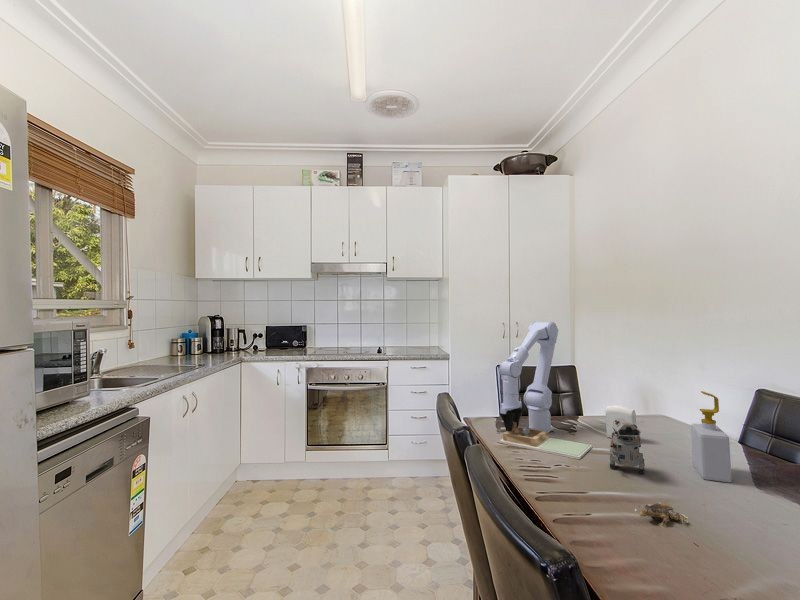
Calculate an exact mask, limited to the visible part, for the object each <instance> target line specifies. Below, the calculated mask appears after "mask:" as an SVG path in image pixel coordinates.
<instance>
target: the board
mask: <svg viewBox="0 0 800 600" xmlns="http://www.w3.org/2000/svg"><path fill="white" fill-rule="evenodd" d="M519 435H520V436H521V434H519ZM530 437H531V438H533V437H532V436H530ZM552 438H553V437H549V436H548V438H547V439H546V440H544V441H543V442H541V443H540V444H539V445H537V446H536V447H533V446H528V445H523V444H518V443H514V442H509V441H504V440H503V438H502V439H500V440H499V441H498V442H499V444H503V445H509V446H513V447H517V448H523V449H528V450H532V451H537V452H542V453H547V454H551V455H556V456H561V457H567V458H571V459H575V460H581V459H582V458H583V457H584V456H585V455H586V454H587V453H588V452H589V451H590V450H591V449H592V448H593V445H591V444H589V445H590V446H589V447H588V448H587V449H585V450H584V451H583V452H582V453H581V454H580V455H579V456H575V455H570V454H565V453H560V452H555V451H550V450H545V449H541V448H539V447H540V446H542V445H543V444H544V443H546V442H547V441H549V440H550V439H552Z"/></svg>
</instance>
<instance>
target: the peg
mask: <svg viewBox="0 0 800 600" xmlns="http://www.w3.org/2000/svg"><path fill="white" fill-rule="evenodd" d="M521 427H522V428H521V436H526V437H530V430H529V427H526V426H521Z"/></svg>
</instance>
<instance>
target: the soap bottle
mask: <svg viewBox="0 0 800 600" xmlns="http://www.w3.org/2000/svg"><path fill="white" fill-rule="evenodd" d="M700 393H701V394H703V395H704V396H705V395H706V396H709V397H713V400H714V401H713V402H714V403H713V404H714V407H713V409H707V408H699V411H700V412H701V413H702V414H701V415H702V416H703V415H704V418H701V419H700V422H701V423H691V425H690V430H691V432H690V433H691V454H692V464H693V466H694V467H695V469H696V471H697V472H698V473H699V475H700V477H701V478H702V479H703V480H707V481H708V480H709V481H716V482H723V483H732V468H731V467H732V466H731V465H732V464H731V463H732V462H731V447H730V446H731V445H730V444H731V443H730V437H729V436H728V434H727V433H726V432H725V431H723V430H722V429H721V428H720V427H719V426H718V425H716V424H717V421H716V420H715V419H713V416H715V414H718V413H719V411H720V404H719V398H718V397H717V396H716V395H714V394H712V393H708V392H705V391H702V390H701V391H700Z"/></svg>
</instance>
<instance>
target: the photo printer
mask: <svg viewBox="0 0 800 600" xmlns="http://www.w3.org/2000/svg"><path fill="white" fill-rule="evenodd" d="M615 419H626V420H627V421H628V422H630V423H631V424H632V425H633V424H635V425H636V426H637V414H636V411H635V409H633V408H631V407H629V406H625V405H622V404H621V405H620V404H612V405H607V406H606V408H605V424H606V425H605V427H606V437H607V438H610V439H612V433H613V432H614V433H615V431H614V430H613V428H612V426H613V424H614V423H613V421H614V420H615ZM615 435H616V434H615ZM635 437H636V438H637V436H635Z"/></svg>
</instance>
